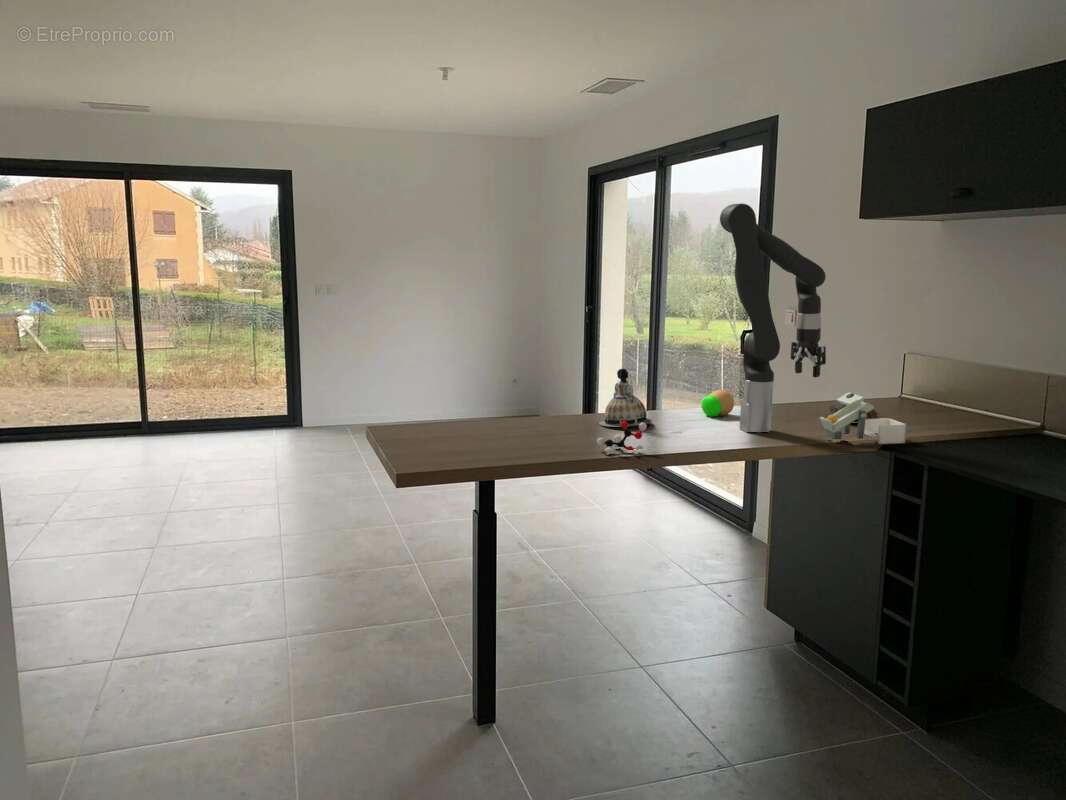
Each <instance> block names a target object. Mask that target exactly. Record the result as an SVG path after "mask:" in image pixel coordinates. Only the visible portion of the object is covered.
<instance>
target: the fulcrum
mask: <svg viewBox="0 0 1066 800" xmlns="http://www.w3.org/2000/svg"><path fill="white" fill-rule="evenodd" d="M846 406H848V405H845V407H846ZM866 417H867V415H866V411H864V410H860V411H859V419H858V424H857V431H856V432H857V433H856V435H857V438H859V439H861V438H862V439H863V438H864V429H865V418H866ZM825 430H826V434H825V437H826V436H827V437H830V438H832V439H841V438H842V433H843V434H849V433H851V423H849V424H848V425H846V426H845V427H843V428H842V431H841V430H838V431H836V432H835V433H834V432H832V431H830V430H827V429H825ZM859 444H860V443H859ZM859 444H857V445H856V444H855V445H854V447H855V446H859V447H860V446H875V444H876V443H875V442H867V443H861V444H860V445H859Z"/></svg>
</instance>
